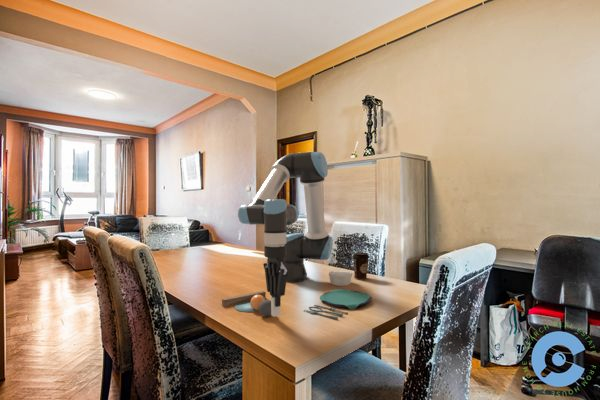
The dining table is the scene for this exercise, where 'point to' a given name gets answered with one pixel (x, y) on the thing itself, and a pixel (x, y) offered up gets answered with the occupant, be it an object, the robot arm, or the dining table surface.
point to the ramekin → (340, 278)
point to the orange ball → (256, 301)
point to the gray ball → (265, 308)
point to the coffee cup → (360, 265)
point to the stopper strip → (241, 298)
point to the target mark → (245, 307)
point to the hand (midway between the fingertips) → (275, 315)
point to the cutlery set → (341, 301)
